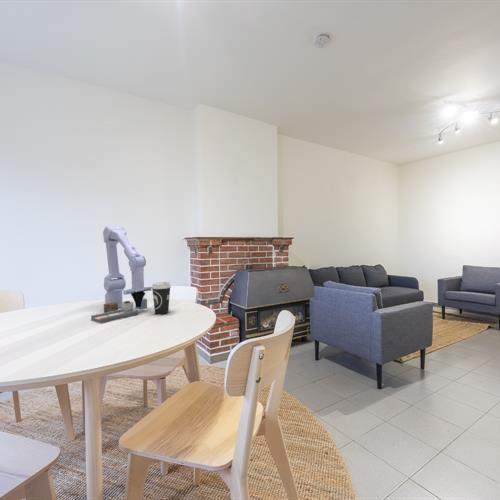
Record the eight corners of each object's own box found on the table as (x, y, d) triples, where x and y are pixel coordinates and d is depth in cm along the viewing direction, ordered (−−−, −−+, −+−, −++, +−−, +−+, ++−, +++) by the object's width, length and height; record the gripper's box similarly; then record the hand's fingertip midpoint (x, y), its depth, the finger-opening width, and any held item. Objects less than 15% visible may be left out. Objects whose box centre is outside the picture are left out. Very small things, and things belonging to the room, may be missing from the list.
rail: (91, 320, 131) (91, 315, 131) (128, 312, 145) (128, 308, 145) (100, 323, 125) (100, 318, 125) (138, 314, 140) (137, 310, 140)
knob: (121, 311, 140) (121, 301, 139) (128, 310, 143) (128, 300, 143) (125, 313, 137) (125, 302, 137) (133, 311, 140) (133, 301, 140)
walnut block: (104, 313, 142) (103, 304, 142) (111, 311, 147) (111, 302, 146) (110, 314, 141) (110, 304, 141) (118, 312, 145) (117, 302, 145)
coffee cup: (168, 315, 138) (167, 284, 138) (148, 315, 138) (148, 284, 138) (173, 310, 148) (173, 281, 147) (155, 310, 148) (155, 281, 147)
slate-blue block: (135, 308, 154) (135, 299, 154) (143, 306, 157) (143, 297, 157) (138, 309, 151) (138, 300, 150) (147, 308, 154) (146, 299, 153)
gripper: (128, 282, 136) (129, 310, 136) (154, 279, 148) (155, 304, 148) (120, 281, 140) (121, 308, 141) (146, 278, 152) (147, 303, 152)
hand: (138, 306), depth 145 cm, fingers closed
